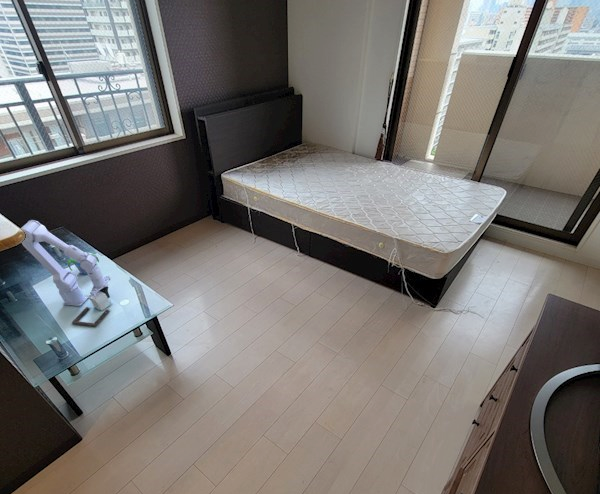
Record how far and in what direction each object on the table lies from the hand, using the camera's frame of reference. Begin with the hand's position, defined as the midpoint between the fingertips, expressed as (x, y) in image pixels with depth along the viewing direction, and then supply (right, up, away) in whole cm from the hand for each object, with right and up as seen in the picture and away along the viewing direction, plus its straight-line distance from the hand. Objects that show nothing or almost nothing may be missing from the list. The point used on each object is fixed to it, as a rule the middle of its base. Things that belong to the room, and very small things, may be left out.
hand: (107, 298), depth 180 cm
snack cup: (-23, +17, +21) cm, 35 cm away
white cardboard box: (-1, -4, -3) cm, 5 cm away
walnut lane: (-3, -10, -9) cm, 14 cm away
